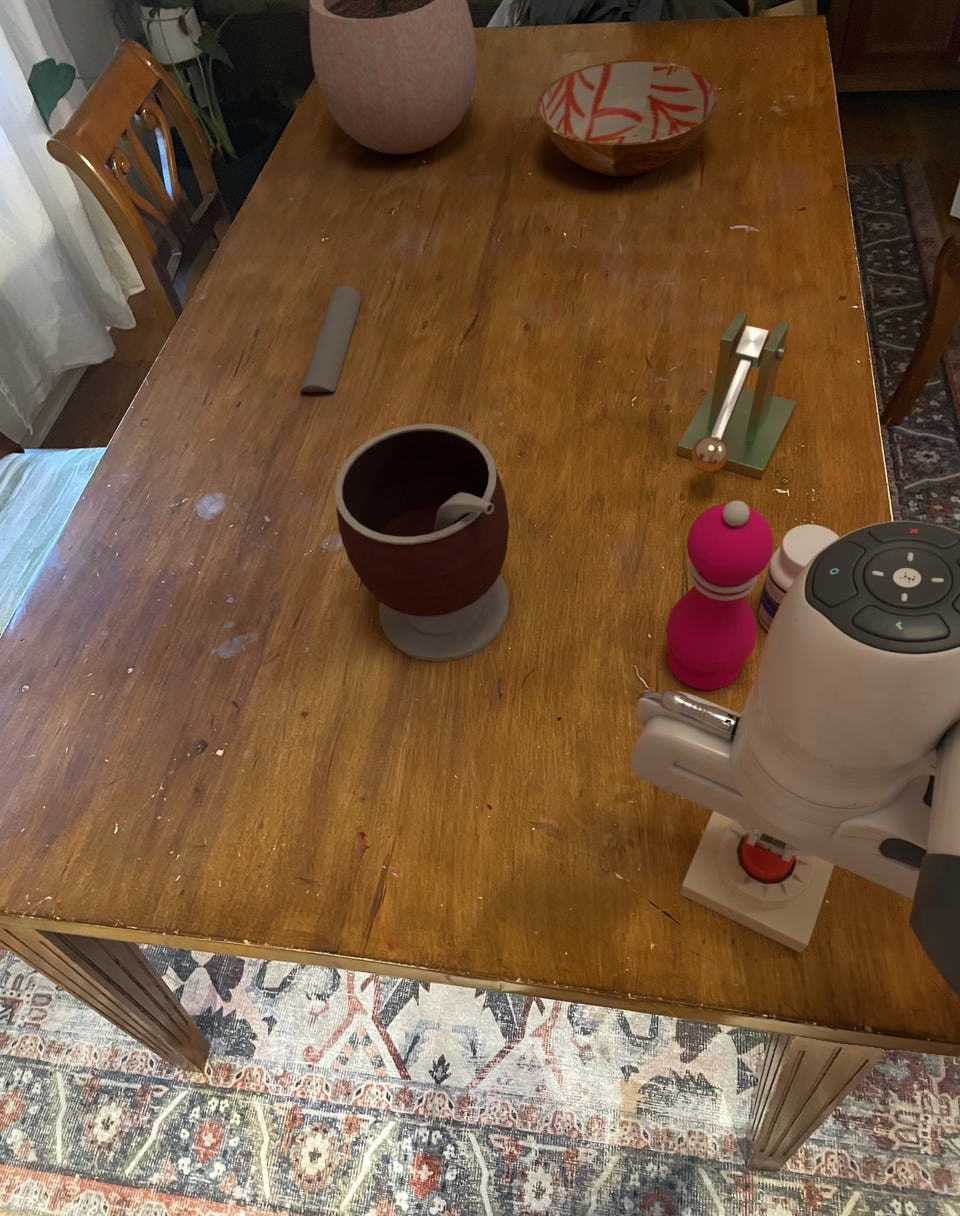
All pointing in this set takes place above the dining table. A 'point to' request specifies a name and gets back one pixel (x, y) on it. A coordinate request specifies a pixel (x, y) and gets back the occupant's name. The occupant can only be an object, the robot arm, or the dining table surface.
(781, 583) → the pill bottle
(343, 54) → the plant pot
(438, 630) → the mate gourd
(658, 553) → the dining table surface
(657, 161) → the bowl
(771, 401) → the bracket
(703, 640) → the pepper mill
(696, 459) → the lever
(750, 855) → the button
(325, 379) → the gray half cylinder
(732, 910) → the box
